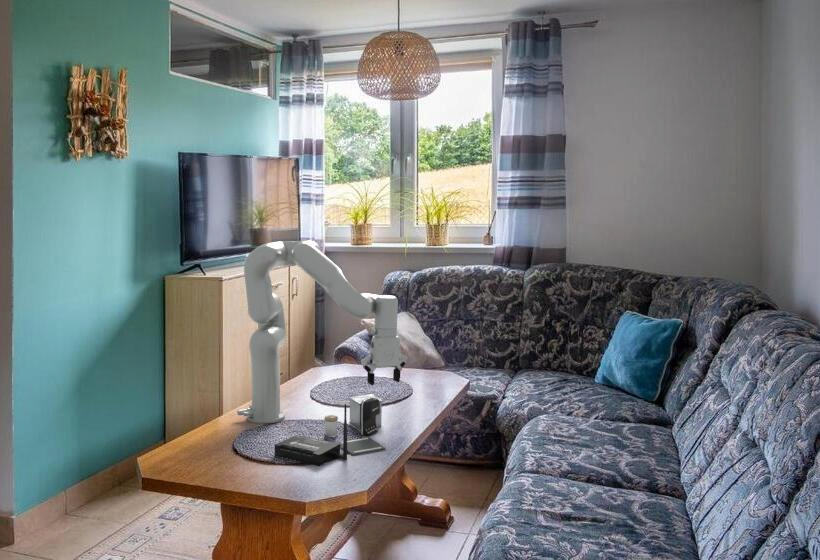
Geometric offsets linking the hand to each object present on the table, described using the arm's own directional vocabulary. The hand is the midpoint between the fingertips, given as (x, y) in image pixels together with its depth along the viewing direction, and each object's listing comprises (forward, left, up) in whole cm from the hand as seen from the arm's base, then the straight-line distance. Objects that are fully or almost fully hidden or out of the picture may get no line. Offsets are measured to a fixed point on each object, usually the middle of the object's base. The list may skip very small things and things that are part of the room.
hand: (383, 382), depth 240 cm
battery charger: (-9, -8, -14) cm, 18 cm away
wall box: (-6, +2, -14) cm, 15 cm away
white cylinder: (-21, -4, -14) cm, 25 cm away
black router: (-33, -19, -15) cm, 40 cm away
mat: (-17, -18, -14) cm, 28 cm away
